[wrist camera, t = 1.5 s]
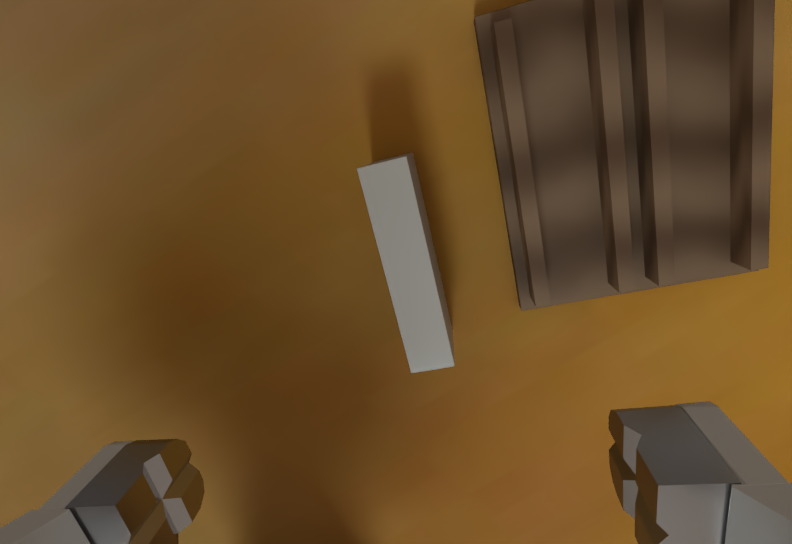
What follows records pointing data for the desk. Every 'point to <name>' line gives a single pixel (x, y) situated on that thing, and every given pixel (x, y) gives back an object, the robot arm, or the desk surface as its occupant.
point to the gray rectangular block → (409, 260)
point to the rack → (630, 141)
